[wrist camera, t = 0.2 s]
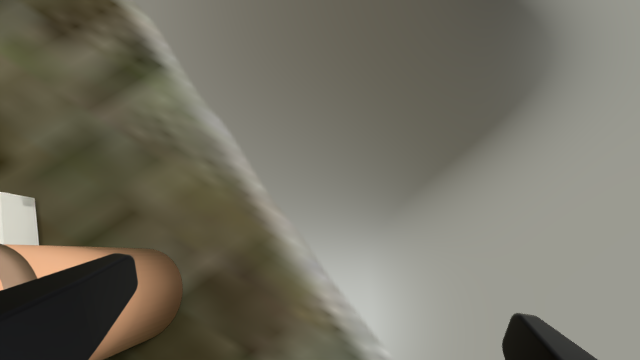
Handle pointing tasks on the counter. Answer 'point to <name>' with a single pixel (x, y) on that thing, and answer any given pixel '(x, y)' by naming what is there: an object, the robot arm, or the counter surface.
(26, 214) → the tray
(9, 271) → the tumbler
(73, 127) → the counter surface
